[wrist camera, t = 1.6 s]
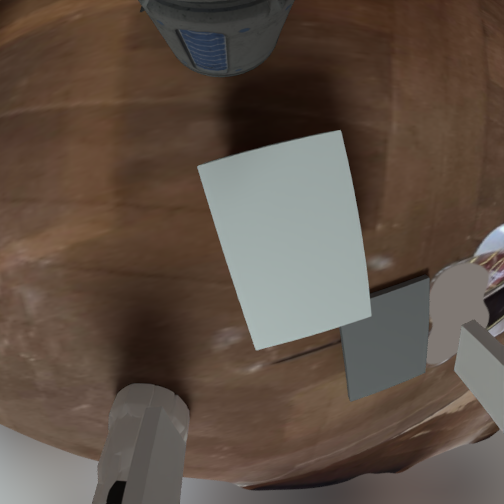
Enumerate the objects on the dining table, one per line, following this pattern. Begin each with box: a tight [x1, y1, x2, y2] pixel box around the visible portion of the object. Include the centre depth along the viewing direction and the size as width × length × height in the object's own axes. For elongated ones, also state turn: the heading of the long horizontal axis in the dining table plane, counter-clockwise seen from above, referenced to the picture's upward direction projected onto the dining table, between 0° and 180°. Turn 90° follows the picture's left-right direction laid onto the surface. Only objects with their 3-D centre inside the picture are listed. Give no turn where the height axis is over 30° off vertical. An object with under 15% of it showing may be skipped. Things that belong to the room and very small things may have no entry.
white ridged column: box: [92, 383, 190, 504], centre depth 27 cm, size 11×11×25 cm
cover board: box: [197, 130, 371, 350], centre depth 24 cm, size 15×10×4 cm, turn 15°
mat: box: [339, 275, 429, 402], centre depth 36 cm, size 16×12×1 cm
